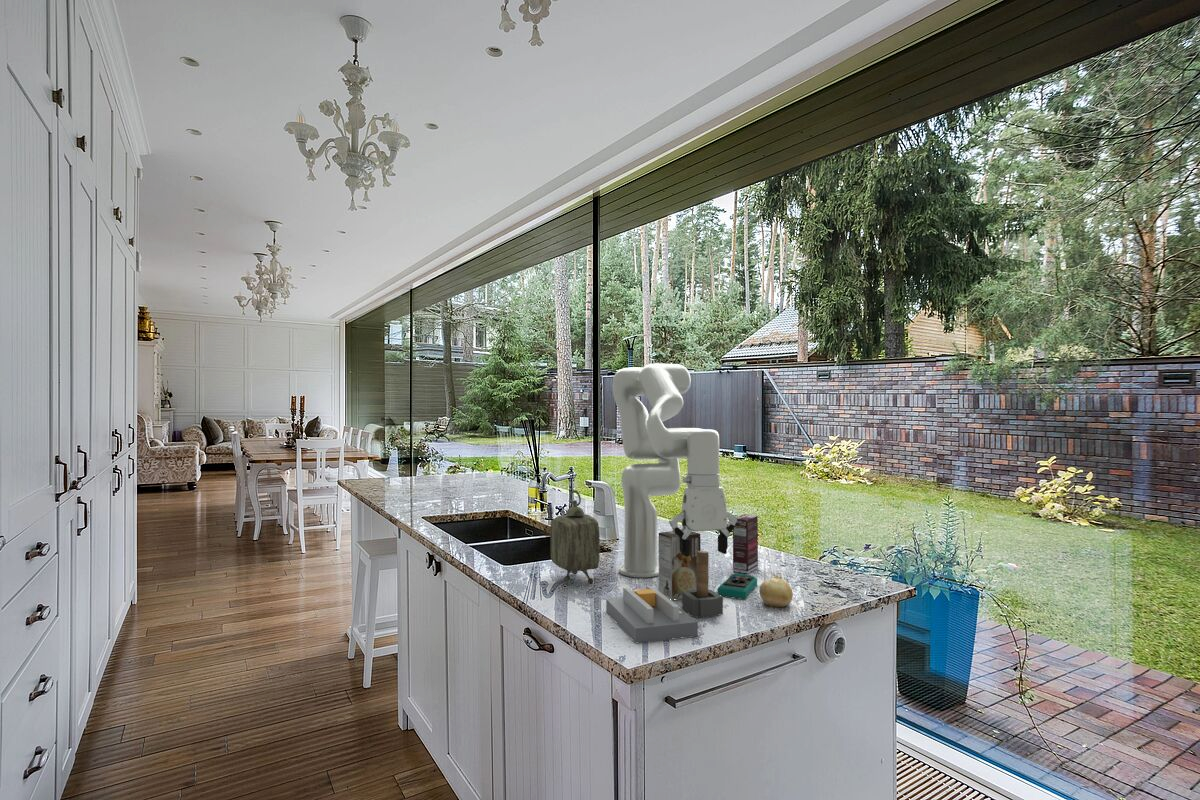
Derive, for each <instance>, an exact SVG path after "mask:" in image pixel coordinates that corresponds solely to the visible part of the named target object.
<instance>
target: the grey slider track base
mask: <svg viewBox="0 0 1200 800" xmlns="http://www.w3.org/2000/svg"><path fill="white" fill-rule="evenodd" d="M645 586H646V587H645V589H651V590H652V591H654V592H655V606H650V605H648V604H647V603H646V602H645V601H644V600H643V599H641V598H640V597H639V596H638V595H637V594H636V593H634V590H632V589H631V588H630V587H628V586H627V587H625V586H624V587H623V588H622V597H615V598H614V597H612V598H605V599H606V601H605V605H606V606H605V607H606V609H605V610H606V611H605V612H606V613H607V614H608V616H610V617H611V619H612V618H613V619H614V620H615V621H616V622H617V623H616V622H615V621H614V620H613V619H612V620H613V621H614V622H615V623H616V625H618V627H620V629H621V630H623V632H624V633H625V634H626V633H627V634H628V635H629V636H630V637H631V638H632V639H633V640H634V641H635V642H642V643H649V642H648V641H651V642H657V641H658V642H659V641H665V640H664V639H669V640H673V639H672V638H678V639H682V638H681V637H687V638H692V637H691V636H696V637H699V635H698V634H699V632H698V631H699V630H698V629H699V627H698V626H699V622H698V621H697V620H696V619H694V617H692V616H691V615H690V614H688V613H687V612H686V611H684V610H683V609H682V608H680V605H678V604H676V602H674V601H672V600H670V599H669V598H667V597H666V596H665V595H663V594H662V593H661V592H659V589H657V588H655V587H654V586H652V584H650V585H649V584H648V585H645ZM628 635H627V636H628ZM629 636H628V637H629ZM630 637H629V638H630ZM631 638H630V639H631ZM632 639H631V640H632ZM633 640H632V641H633ZM634 641H633V642H634ZM635 642H634V643H635Z"/></svg>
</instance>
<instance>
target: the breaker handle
mask: <svg viewBox="0 0 1200 800" xmlns="http://www.w3.org/2000/svg"><path fill="white" fill-rule="evenodd" d="M633 592H634V593H636V594H637V595H638V596H639V597H640V598H641V599H643V600H644V601H645V602H646V603H647V604H648V605H650V606H655V592H654V591H652V590H651V589H646V588H645V589H635V590H633Z"/></svg>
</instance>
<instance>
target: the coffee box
mask: <svg viewBox="0 0 1200 800" xmlns="http://www.w3.org/2000/svg"><path fill="white" fill-rule="evenodd" d="M687 539H689V556H688V557H686V556H684V555H682V554H681V552H680V538H679V537H678V535H677V534H676V533H675V532H674V531H673V530H670V531H662V532H661V531H660V532H658V566H659V575H658V591H659V592H661V593H662V594H663V595H665V596H666V597H667V598H669V599H671V601H672V600H673V601H675V600H674V599H679V600H682V592H687V591H689V590H696V578H697V551H702V550H701V549H702V548H701V533H698V532H697V531H692V532H691V533H690V534H689V536H688V537H687Z"/></svg>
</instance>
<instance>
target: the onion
mask: <svg viewBox="0 0 1200 800" xmlns="http://www.w3.org/2000/svg"><path fill="white" fill-rule="evenodd" d="M771 574H772V576H773V577H772V578H768V579H766V580H763V581H762V582H761V584H760V586H759V589H758V590H759V591H758V592H759V596H760V598H761V599H762V602H763V603H764V604H765V605H766V606H769V607H772V608H773V607H774V608H783V607H786V606H787V605H788V604H790V603H791V602H792V600H793V596H794V591H793V589H792V587H791V586H790V584H789V583H788V582H787V581H786V580H785V579H783V577H782V576H781V575H779V574H776V575H775V574H774V573H771Z"/></svg>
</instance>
